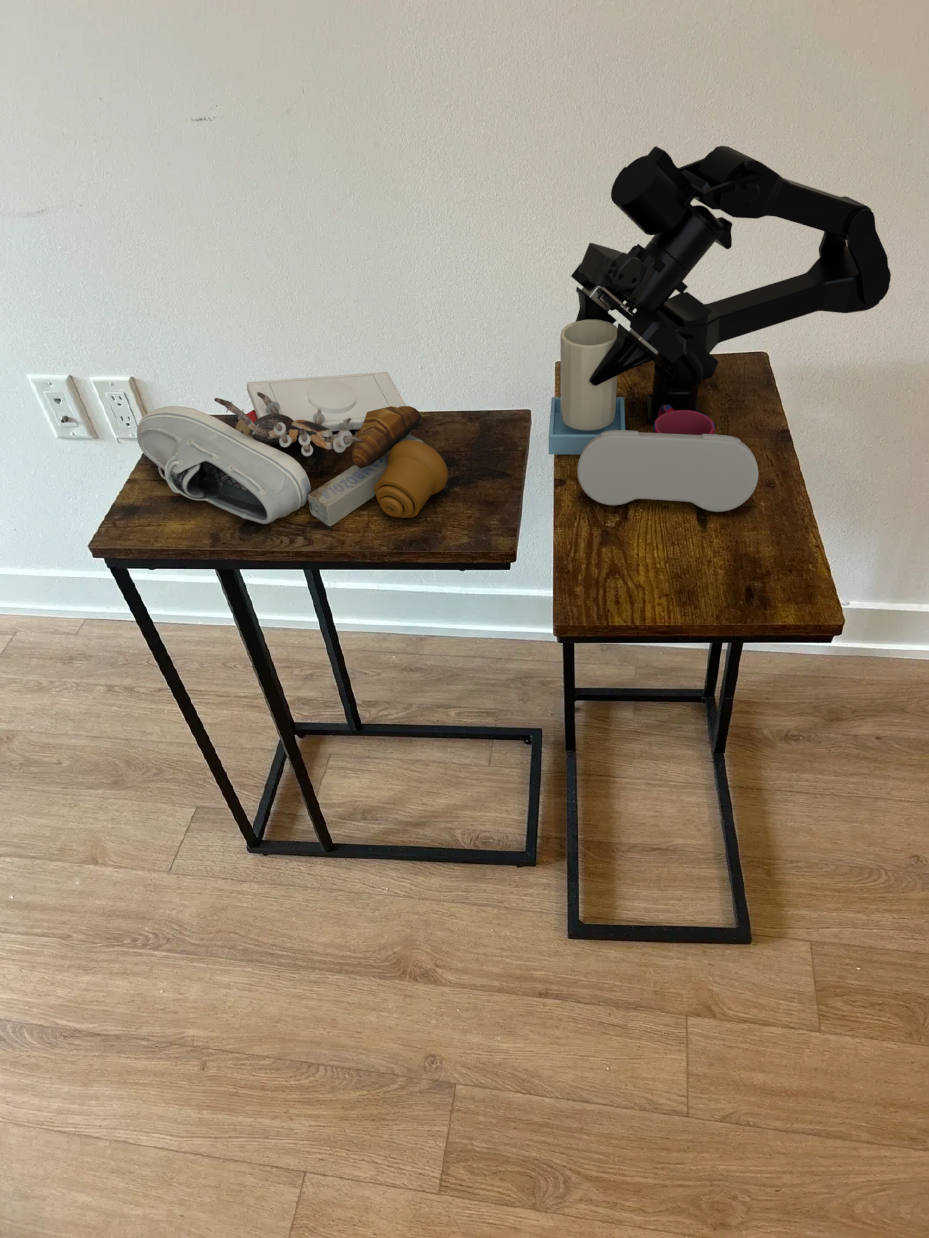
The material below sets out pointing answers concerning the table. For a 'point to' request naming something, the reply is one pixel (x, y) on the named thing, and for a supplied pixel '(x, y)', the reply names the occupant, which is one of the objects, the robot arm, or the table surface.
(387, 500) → the ornamental finial
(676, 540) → the table surface
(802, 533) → the table surface
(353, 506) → the grey printed bar
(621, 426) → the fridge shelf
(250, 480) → the boat shoe
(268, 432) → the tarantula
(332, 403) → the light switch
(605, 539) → the table surface
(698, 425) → the cup
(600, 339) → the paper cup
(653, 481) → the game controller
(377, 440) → the croissant
